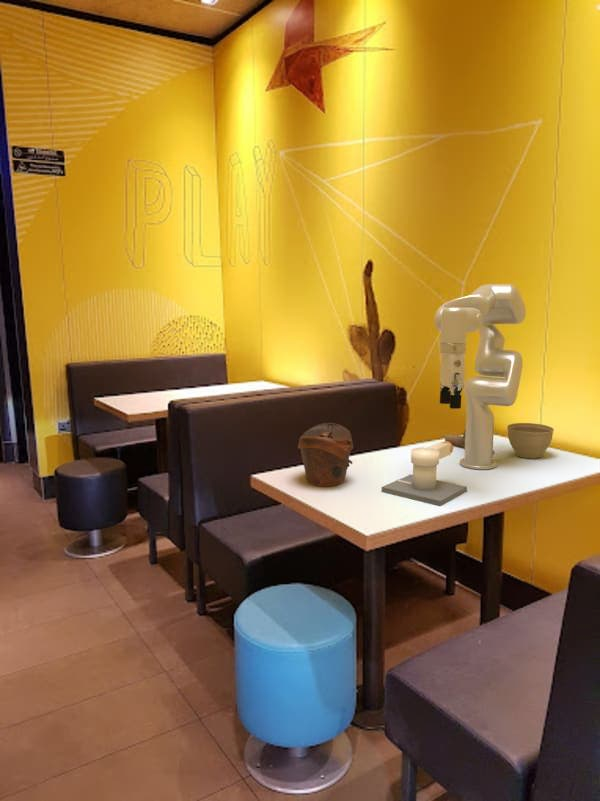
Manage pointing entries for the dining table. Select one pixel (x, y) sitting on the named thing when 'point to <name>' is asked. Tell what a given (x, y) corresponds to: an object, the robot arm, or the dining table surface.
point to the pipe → (456, 439)
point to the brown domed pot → (326, 454)
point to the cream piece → (431, 454)
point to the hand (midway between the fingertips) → (449, 405)
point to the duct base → (425, 495)
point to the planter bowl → (529, 439)
